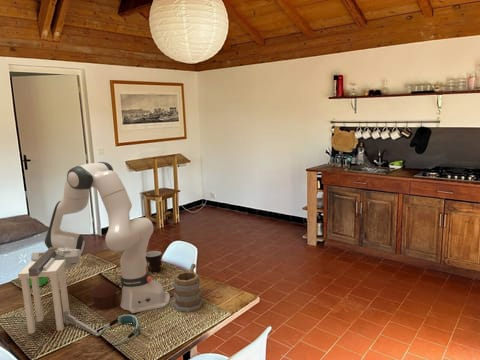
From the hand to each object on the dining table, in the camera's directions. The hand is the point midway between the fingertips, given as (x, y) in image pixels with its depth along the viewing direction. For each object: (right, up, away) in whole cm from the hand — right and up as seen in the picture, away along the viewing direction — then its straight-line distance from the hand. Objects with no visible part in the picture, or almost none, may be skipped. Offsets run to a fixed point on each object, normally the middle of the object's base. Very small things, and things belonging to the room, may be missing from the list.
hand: (50, 252), depth 164 cm
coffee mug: (+35, -19, +45) cm, 60 cm away
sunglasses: (+34, -30, -13) cm, 48 cm away
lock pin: (+1, -3, -7) cm, 8 cm away
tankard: (+59, -25, +12) cm, 65 cm away
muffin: (+20, -26, +10) cm, 35 cm away
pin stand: (+2, -29, -5) cm, 30 cm away
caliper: (+17, -30, -9) cm, 36 cm away
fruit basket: (-25, -23, +33) cm, 47 cm away
